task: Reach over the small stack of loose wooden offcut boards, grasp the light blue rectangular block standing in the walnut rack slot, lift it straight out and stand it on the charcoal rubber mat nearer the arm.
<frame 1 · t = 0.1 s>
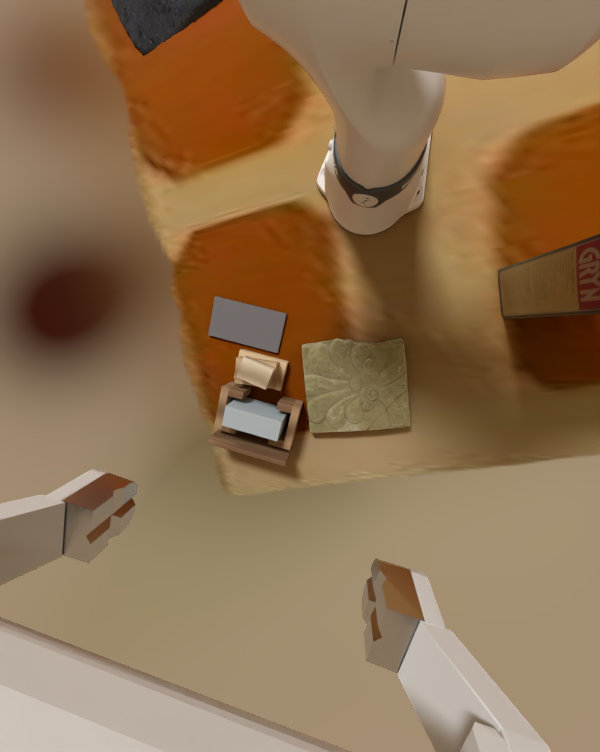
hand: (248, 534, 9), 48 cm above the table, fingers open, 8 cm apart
food packaging: (540, 286, 48), on the table
offcut top: (257, 371, 54), point 4 cm above the table, touching offcut middle
rack: (262, 410, 60), on the table
light blue rectangular block: (262, 410, 60), resting in rack
decorative tile: (354, 382, 56), on the table
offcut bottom: (263, 368, 59), on the table, touching offcut middle
offcut middle: (258, 371, 56), point 2 cm above the table, touching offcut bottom, offcut top
mat: (247, 324, 57), on the table
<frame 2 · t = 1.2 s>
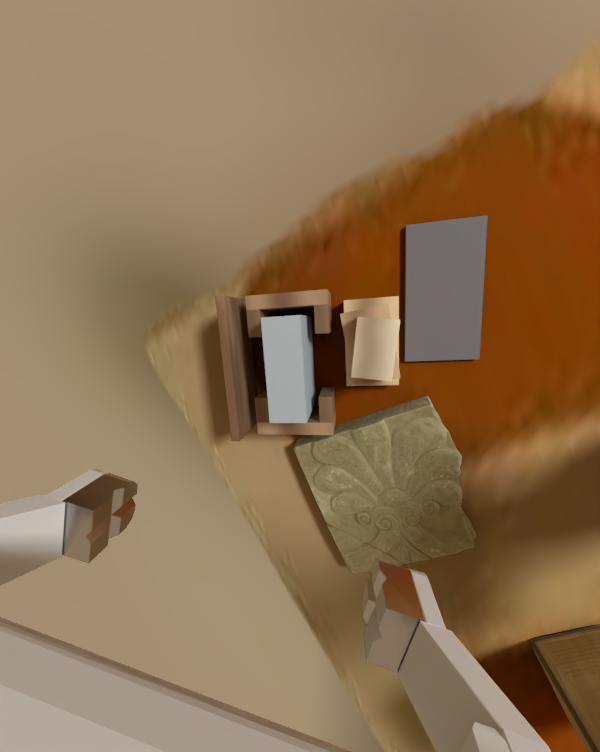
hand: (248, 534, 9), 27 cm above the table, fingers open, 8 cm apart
food packaging: (582, 668, 37), on the table
offcut top: (373, 347, 30), point 4 cm above the table, touching offcut middle
rack: (298, 360, 36), on the table
light blue rectangular block: (298, 360, 36), resting in rack
decorative tile: (386, 481, 38), on the table
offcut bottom: (370, 341, 34), on the table, touching offcut middle
offcut middle: (368, 344, 32), point 2 cm above the table, touching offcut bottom, offcut top
mat: (441, 293, 31), on the table
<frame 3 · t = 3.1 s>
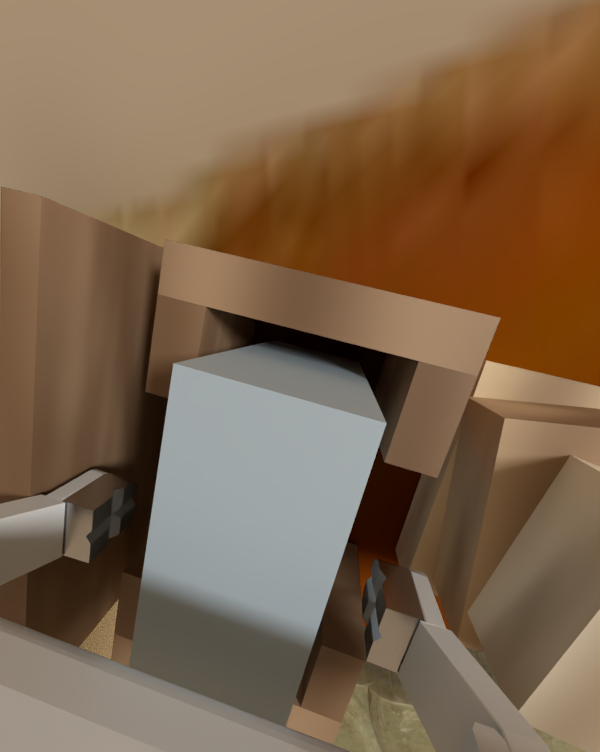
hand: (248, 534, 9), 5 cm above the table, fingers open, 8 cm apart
offcut top: (581, 567, 8), point 4 cm above the table, touching offcut middle
rack: (288, 458, 14), on the table
light blue rectangular block: (288, 457, 14), resting in rack
decorative tile: (398, 750, 17), on the table
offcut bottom: (487, 472, 13), on the table, touching offcut middle
offcut middle: (517, 503, 11), point 2 cm above the table, touching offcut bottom, offcut top
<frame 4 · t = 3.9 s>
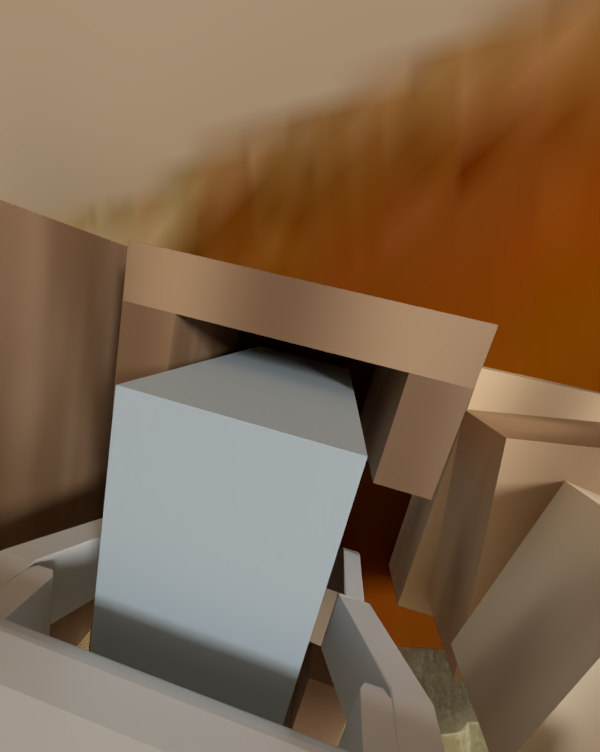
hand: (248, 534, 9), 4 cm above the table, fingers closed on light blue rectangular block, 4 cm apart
offcut top: (572, 600, 8), point 4 cm above the table, touching offcut middle
rack: (276, 470, 13), on the table
light blue rectangular block: (276, 469, 13), resting in rack, touching gripper
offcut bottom: (484, 482, 12), on the table, touching offcut middle
offcut middle: (517, 522, 10), point 2 cm above the table, touching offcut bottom, offcut top
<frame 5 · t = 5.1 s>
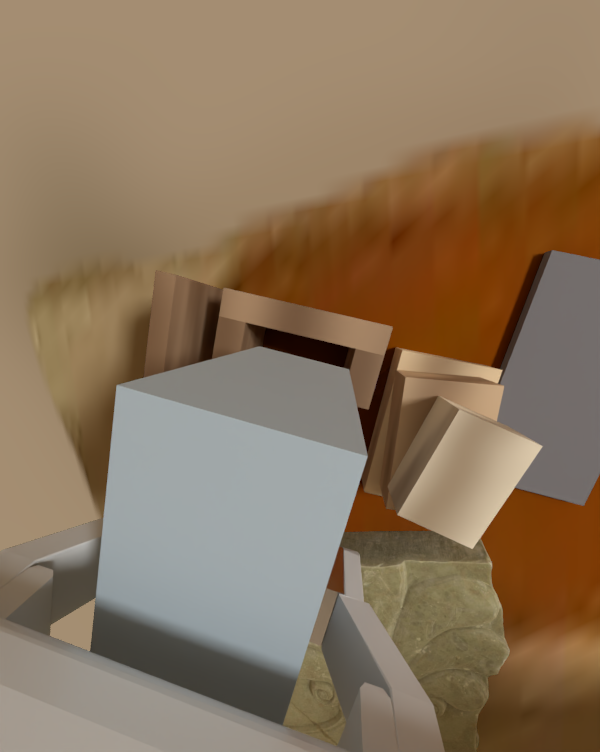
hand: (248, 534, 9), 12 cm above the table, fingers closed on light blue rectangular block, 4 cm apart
offcut top: (445, 457, 16), point 4 cm above the table, touching offcut middle
rack: (288, 418, 21), on the table
light blue rectangular block: (276, 469, 13), point 8 cm above the table, touching gripper
decorative tile: (369, 626, 24), on the table
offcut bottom: (417, 421, 20), on the table, touching offcut middle
offcut middle: (426, 434, 18), point 2 cm above the table, touching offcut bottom, offcut top
mat: (561, 385, 18), on the table
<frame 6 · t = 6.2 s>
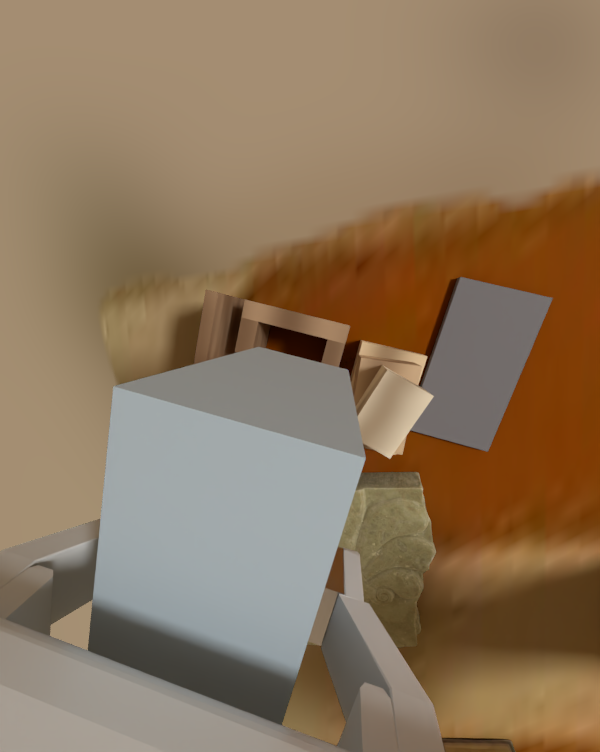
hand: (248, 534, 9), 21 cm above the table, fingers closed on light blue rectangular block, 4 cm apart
offcut top: (383, 406, 24), point 4 cm above the table, touching offcut middle
rack: (285, 389, 29), on the table
light blue rectangular block: (275, 470, 13), point 16 cm above the table, touching gripper
decorative tile: (343, 547, 33), on the table
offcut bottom: (375, 393, 29), on the table, touching offcut middle
offcut middle: (377, 399, 26), point 2 cm above the table, touching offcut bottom, offcut top
mat: (471, 367, 27), on the table
when the fingers open (5 cm above the table, at t = 10.6 s): light blue rectangular block stays where it is, resting on mat.
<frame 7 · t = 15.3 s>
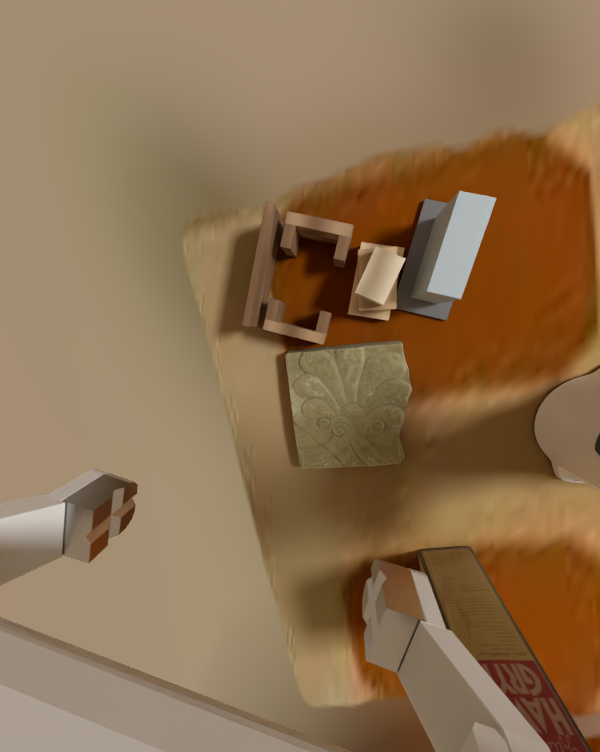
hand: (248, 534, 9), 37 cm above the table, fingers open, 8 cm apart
food packaging: (448, 579, 49), on the table
offcut top: (377, 278, 37), point 4 cm above the table, touching offcut middle
rack: (309, 285, 43), on the table
light blue rectangular block: (436, 261, 40), point 1 cm above the table, touching mat
decorative tile: (349, 404, 46), on the table
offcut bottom: (373, 284, 42), on the table, touching offcut middle
offcut middle: (375, 282, 40), point 2 cm above the table, touching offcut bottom, offcut top
mat: (434, 262, 40), on the table
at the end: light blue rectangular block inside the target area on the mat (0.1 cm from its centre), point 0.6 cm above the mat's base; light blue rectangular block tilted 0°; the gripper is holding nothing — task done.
